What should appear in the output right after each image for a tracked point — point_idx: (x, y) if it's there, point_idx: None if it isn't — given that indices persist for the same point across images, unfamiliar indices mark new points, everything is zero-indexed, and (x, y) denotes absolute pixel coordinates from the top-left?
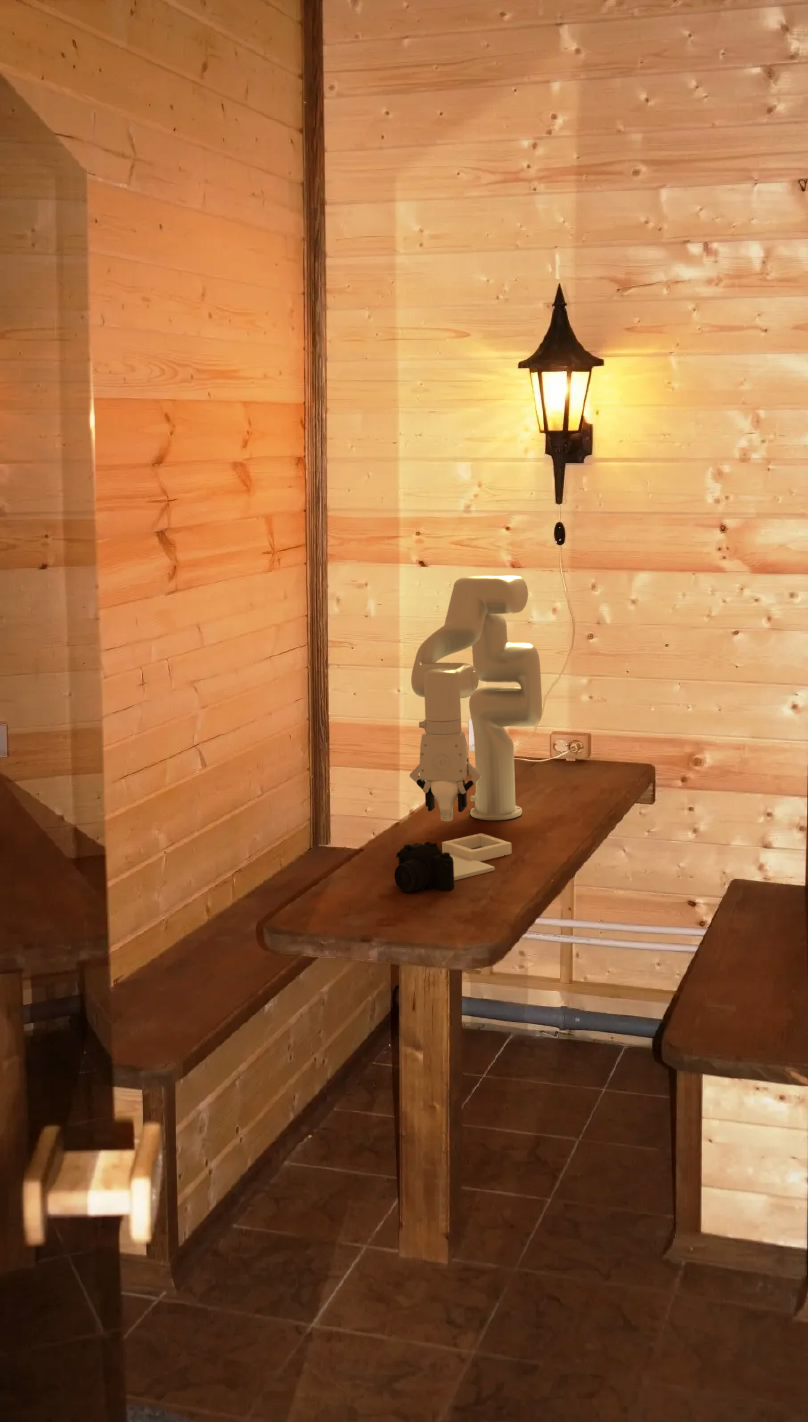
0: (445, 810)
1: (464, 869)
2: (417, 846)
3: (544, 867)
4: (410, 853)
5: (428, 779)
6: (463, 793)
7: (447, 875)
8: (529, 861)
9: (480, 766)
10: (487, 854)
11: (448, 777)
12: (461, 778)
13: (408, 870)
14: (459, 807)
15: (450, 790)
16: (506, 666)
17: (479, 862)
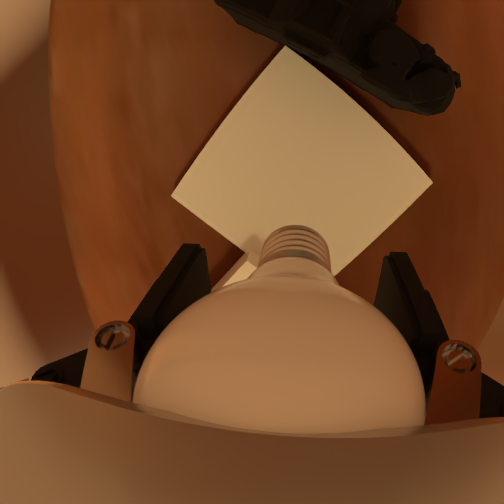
0: (289, 254)
1: (244, 157)
2: (387, 42)
3: (88, 232)
4: (405, 32)
5: (483, 433)
6: (115, 321)
7: None
8: (130, 270)
9: None
10: (219, 285)
11: (138, 459)
12: (6, 391)
13: None
14: (185, 257)
15: (184, 317)
16: None
17: (222, 229)
